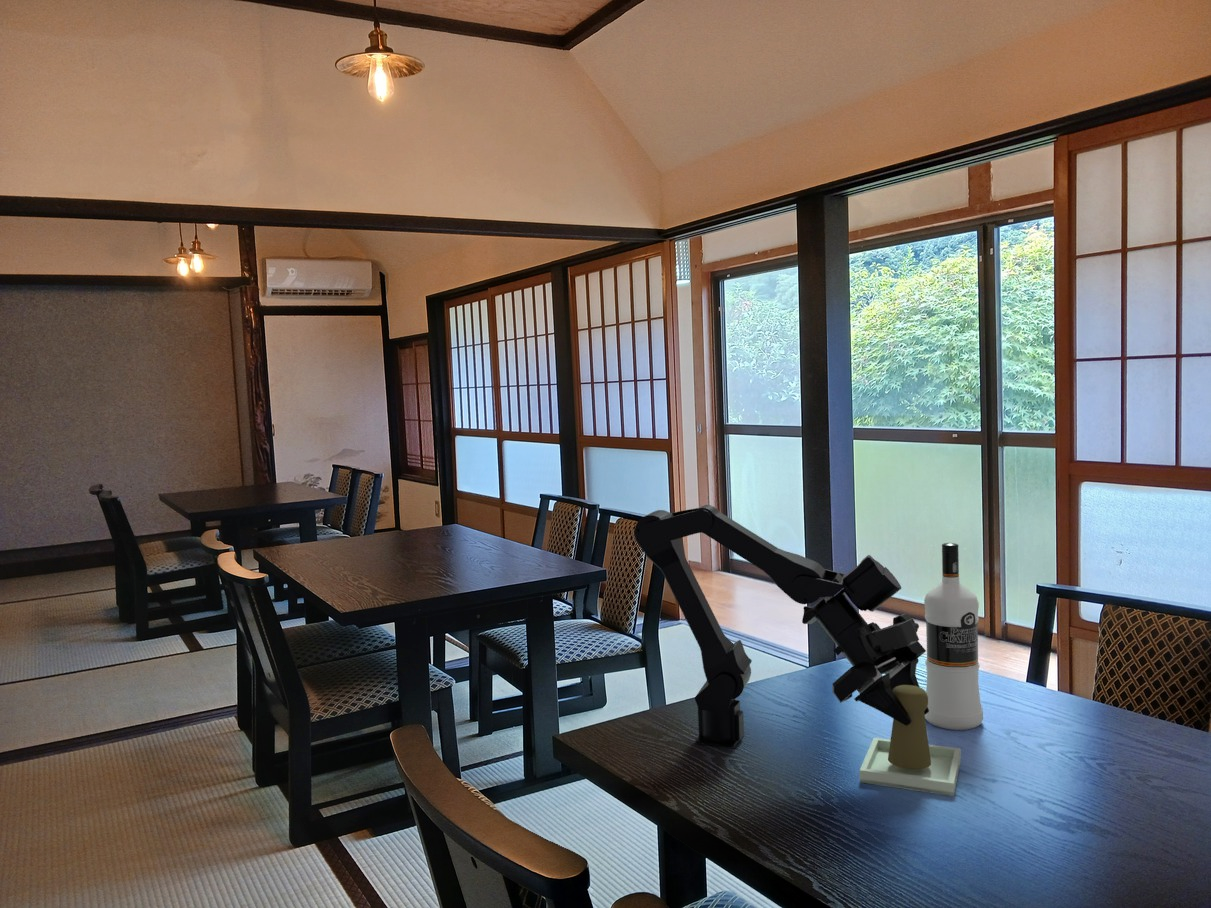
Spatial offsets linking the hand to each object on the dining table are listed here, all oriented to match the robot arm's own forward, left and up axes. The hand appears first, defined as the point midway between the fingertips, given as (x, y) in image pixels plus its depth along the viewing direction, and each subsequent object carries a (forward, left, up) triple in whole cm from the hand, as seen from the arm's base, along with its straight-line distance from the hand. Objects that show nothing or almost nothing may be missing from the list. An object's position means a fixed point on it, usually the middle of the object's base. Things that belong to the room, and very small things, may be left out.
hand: (918, 718), depth 130 cm
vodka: (+3, +22, -8) cm, 24 cm away
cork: (-1, 0, -7) cm, 7 cm away
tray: (-1, 0, -8) cm, 8 cm away
